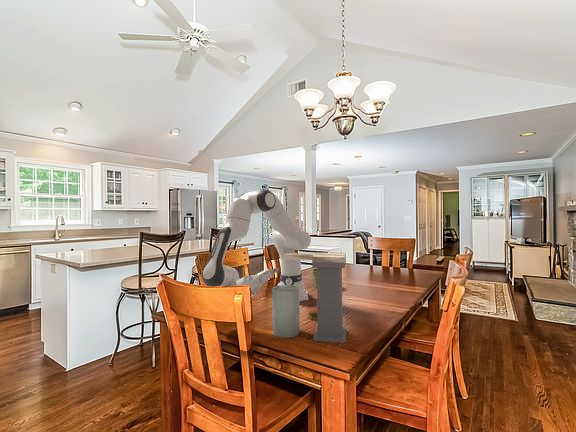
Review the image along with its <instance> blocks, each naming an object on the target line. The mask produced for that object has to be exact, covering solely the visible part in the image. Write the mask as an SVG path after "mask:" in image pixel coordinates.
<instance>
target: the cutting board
mask: <svg viewBox="0 0 576 432" xmlns="http://www.w3.org/2000/svg"><path fill="white" fill-rule="evenodd" d="M345 259H346V260H347V256H346V252H315V253H296V252H295V253H286V254H284V260H301V261H311V263H312V262H331V263H344V262H345Z"/></svg>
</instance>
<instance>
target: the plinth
mask: <svg viewBox="0 0 576 432" xmlns="http://www.w3.org/2000/svg"><path fill="white" fill-rule="evenodd" d="M346 264H347V258H346V259H345V262H344V263H331V262H312V261H311V266H312V268H317V288H316V305H317V324H316V327H315V331H314V333H313V336H312V338H313V339H312V341H314V342H328V343H340V344H345V343H346V340H347V329H348V327H347V326H343V320H344V319H343V269H345V267H346Z"/></svg>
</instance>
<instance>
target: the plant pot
mask: <svg viewBox="0 0 576 432" xmlns="http://www.w3.org/2000/svg"><path fill="white" fill-rule="evenodd" d="M311 271H312V275H313V279H314V284H315V285H314V286H315V288H316V289H317V267H314V268H313V269H311Z"/></svg>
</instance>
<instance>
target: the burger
mask: <svg viewBox="0 0 576 432" xmlns="http://www.w3.org/2000/svg"><path fill="white" fill-rule="evenodd" d="M307 317H308V319H310V320H312V321H315V322H316V321H317V306H313V307H310V308H309V309H308V315H307Z"/></svg>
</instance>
